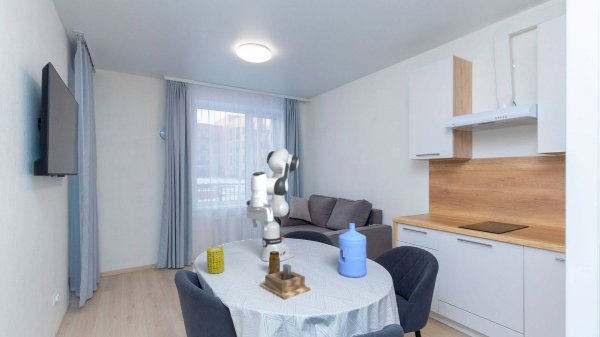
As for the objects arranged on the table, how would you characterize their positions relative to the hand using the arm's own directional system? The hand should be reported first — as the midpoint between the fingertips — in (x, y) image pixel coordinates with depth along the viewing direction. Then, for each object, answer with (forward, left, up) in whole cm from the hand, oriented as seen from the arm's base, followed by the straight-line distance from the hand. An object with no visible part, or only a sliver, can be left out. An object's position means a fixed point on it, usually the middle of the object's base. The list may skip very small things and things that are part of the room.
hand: (260, 228), depth 154 cm
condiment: (-12, -3, -28) cm, 30 cm away
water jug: (-46, +25, -28) cm, 59 cm away
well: (-4, +17, -28) cm, 32 cm away
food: (+12, -28, -28) cm, 42 cm away
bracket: (-4, +16, -27) cm, 31 cm away
